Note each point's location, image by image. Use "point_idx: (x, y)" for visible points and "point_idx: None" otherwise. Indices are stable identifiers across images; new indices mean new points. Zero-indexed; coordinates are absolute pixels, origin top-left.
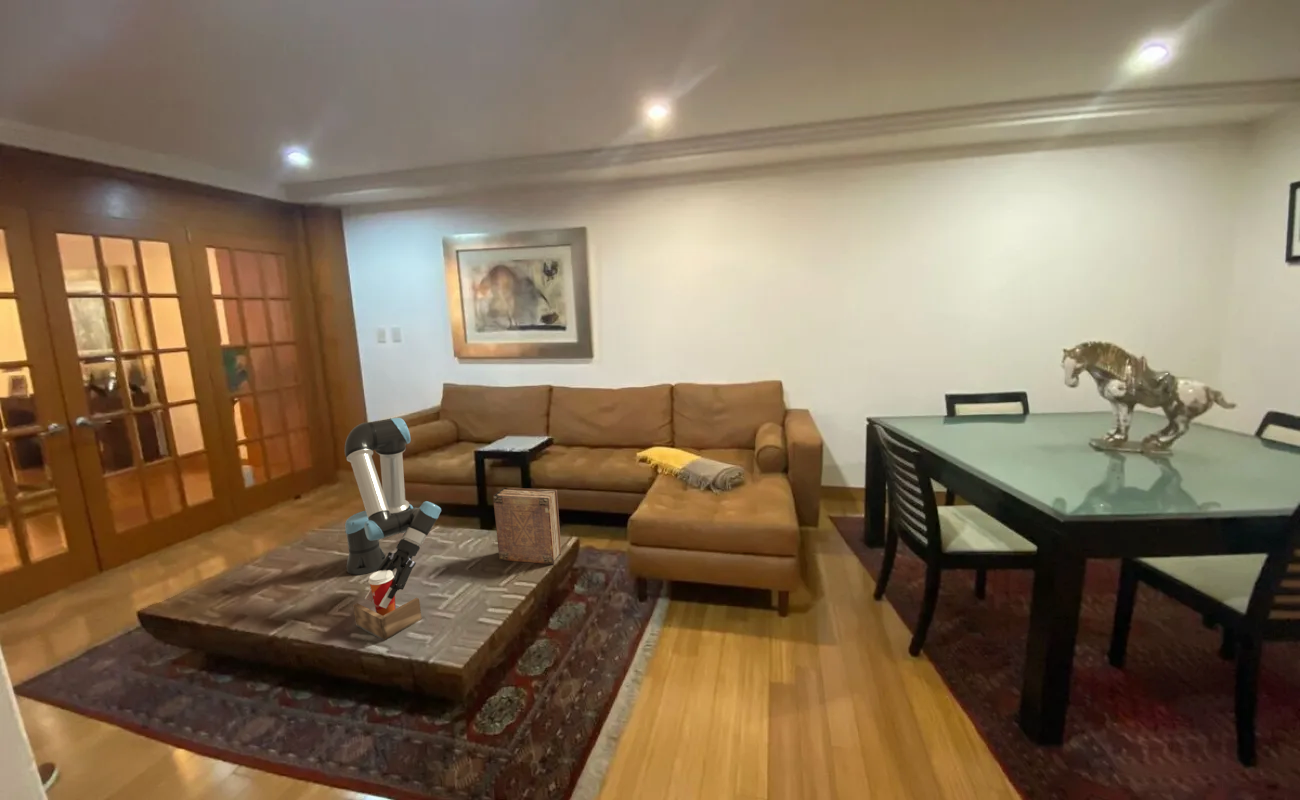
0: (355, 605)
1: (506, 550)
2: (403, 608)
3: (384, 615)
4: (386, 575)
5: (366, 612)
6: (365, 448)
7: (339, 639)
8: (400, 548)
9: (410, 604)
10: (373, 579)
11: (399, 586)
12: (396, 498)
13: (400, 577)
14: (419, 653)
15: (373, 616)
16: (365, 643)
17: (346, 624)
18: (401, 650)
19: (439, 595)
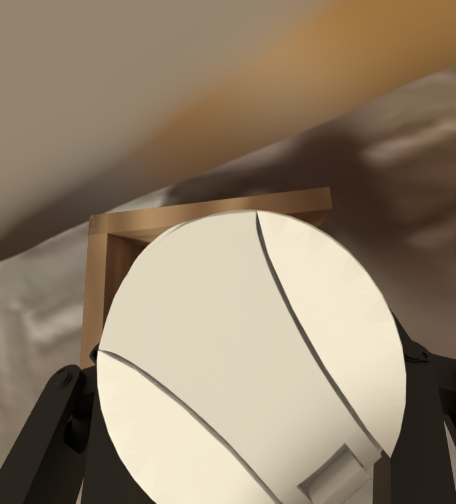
0: (315, 192)
1: None
2: (86, 326)
3: (104, 238)
4: (149, 388)
5: (205, 202)
6: None
7: (274, 163)
8: None
9: (83, 368)
10: (199, 227)
11: (53, 386)
12: None
13: (25, 477)
14: (11, 272)
15: (149, 210)
16: (183, 203)
17: (349, 208)
18: (64, 249)
19: None
